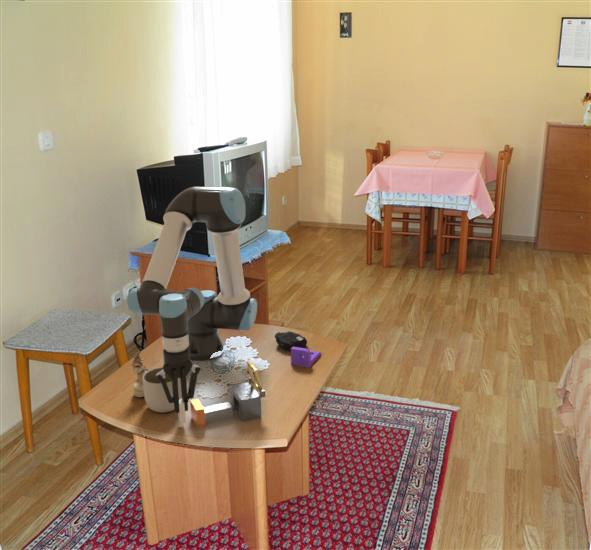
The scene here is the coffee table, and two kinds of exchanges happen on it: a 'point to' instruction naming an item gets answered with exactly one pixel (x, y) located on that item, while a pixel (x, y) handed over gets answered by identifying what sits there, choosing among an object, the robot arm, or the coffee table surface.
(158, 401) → the planter
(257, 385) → the keeper
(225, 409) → the orange drawer
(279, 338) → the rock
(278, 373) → the coffee table surface
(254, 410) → the block
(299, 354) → the bracket
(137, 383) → the figurine
